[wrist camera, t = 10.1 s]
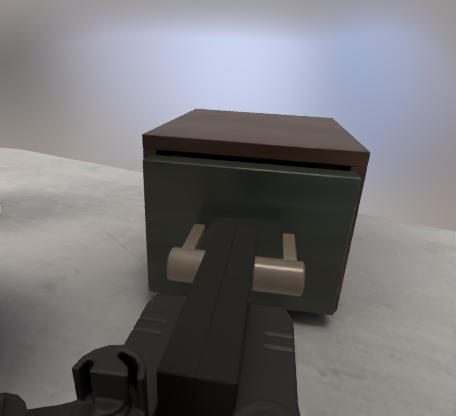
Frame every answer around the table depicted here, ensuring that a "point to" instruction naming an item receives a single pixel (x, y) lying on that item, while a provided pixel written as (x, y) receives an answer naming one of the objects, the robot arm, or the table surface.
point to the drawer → (251, 223)
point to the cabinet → (263, 142)
